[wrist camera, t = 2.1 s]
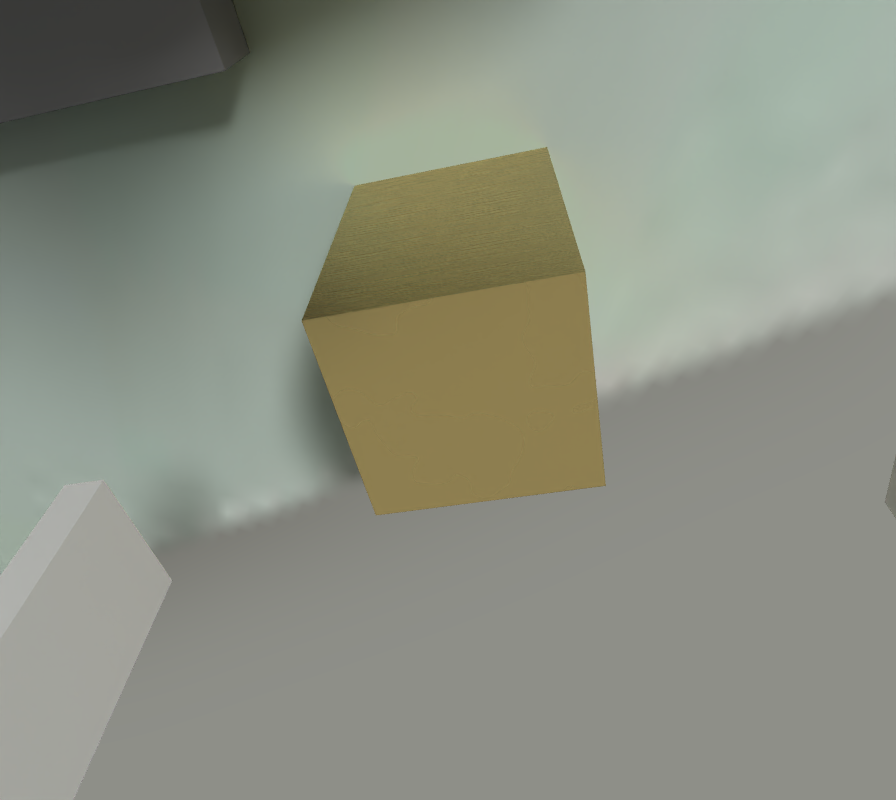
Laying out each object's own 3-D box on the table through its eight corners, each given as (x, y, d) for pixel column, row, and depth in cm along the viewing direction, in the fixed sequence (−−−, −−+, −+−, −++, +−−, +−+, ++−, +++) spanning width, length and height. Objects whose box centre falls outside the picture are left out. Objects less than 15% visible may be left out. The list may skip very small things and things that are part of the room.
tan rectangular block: (401, 345, 21) (376, 515, 15) (354, 185, 18) (301, 321, 12) (567, 318, 20) (605, 485, 14) (546, 146, 17) (584, 272, 11)
